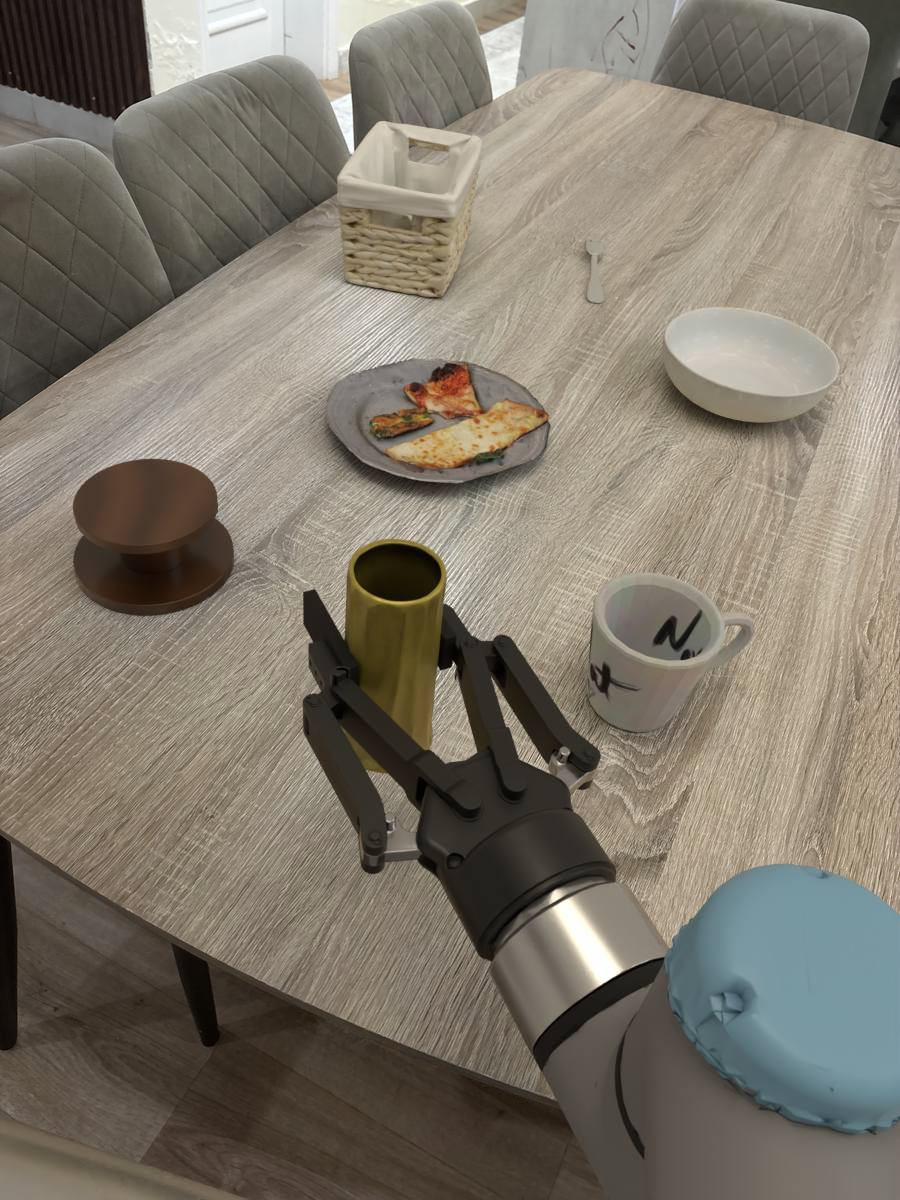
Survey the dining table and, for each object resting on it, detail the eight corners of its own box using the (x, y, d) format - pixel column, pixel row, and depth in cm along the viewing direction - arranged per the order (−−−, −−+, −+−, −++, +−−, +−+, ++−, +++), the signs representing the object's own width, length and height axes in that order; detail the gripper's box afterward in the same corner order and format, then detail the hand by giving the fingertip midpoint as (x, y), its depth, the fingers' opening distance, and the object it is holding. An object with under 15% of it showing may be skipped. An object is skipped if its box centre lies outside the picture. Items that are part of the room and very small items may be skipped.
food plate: (469, 357, 118) (472, 331, 115) (588, 455, 105) (594, 429, 103) (290, 405, 106) (289, 377, 104) (399, 522, 94) (401, 494, 91)
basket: (447, 307, 127) (457, 196, 116) (330, 286, 128) (331, 175, 117) (475, 237, 144) (487, 135, 134) (372, 219, 145) (376, 116, 135)
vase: (330, 702, 61) (333, 535, 51) (423, 693, 62) (443, 529, 52) (342, 780, 57) (347, 615, 47) (441, 769, 58) (466, 606, 48)
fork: (581, 316, 134) (585, 299, 131) (582, 240, 147) (586, 223, 145) (601, 319, 134) (605, 302, 131) (600, 242, 147) (604, 226, 145)
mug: (551, 661, 82) (573, 578, 75) (702, 638, 86) (736, 557, 79) (597, 757, 75) (625, 675, 68) (759, 727, 79) (802, 646, 72)
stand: (78, 626, 80) (61, 563, 75) (73, 522, 89) (58, 460, 84) (244, 602, 84) (239, 541, 79) (223, 505, 93) (217, 445, 88)
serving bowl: (679, 337, 127) (693, 289, 122) (833, 387, 121) (854, 339, 116) (627, 406, 113) (640, 355, 108) (797, 467, 107) (820, 416, 103)
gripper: (367, 1041, 42) (212, 677, 56) (689, 888, 49) (480, 599, 63) (375, 968, 37) (201, 587, 51) (733, 809, 44) (495, 513, 58)
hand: (356, 594), depth 57 cm, fingers closed on vase, 5 cm apart
